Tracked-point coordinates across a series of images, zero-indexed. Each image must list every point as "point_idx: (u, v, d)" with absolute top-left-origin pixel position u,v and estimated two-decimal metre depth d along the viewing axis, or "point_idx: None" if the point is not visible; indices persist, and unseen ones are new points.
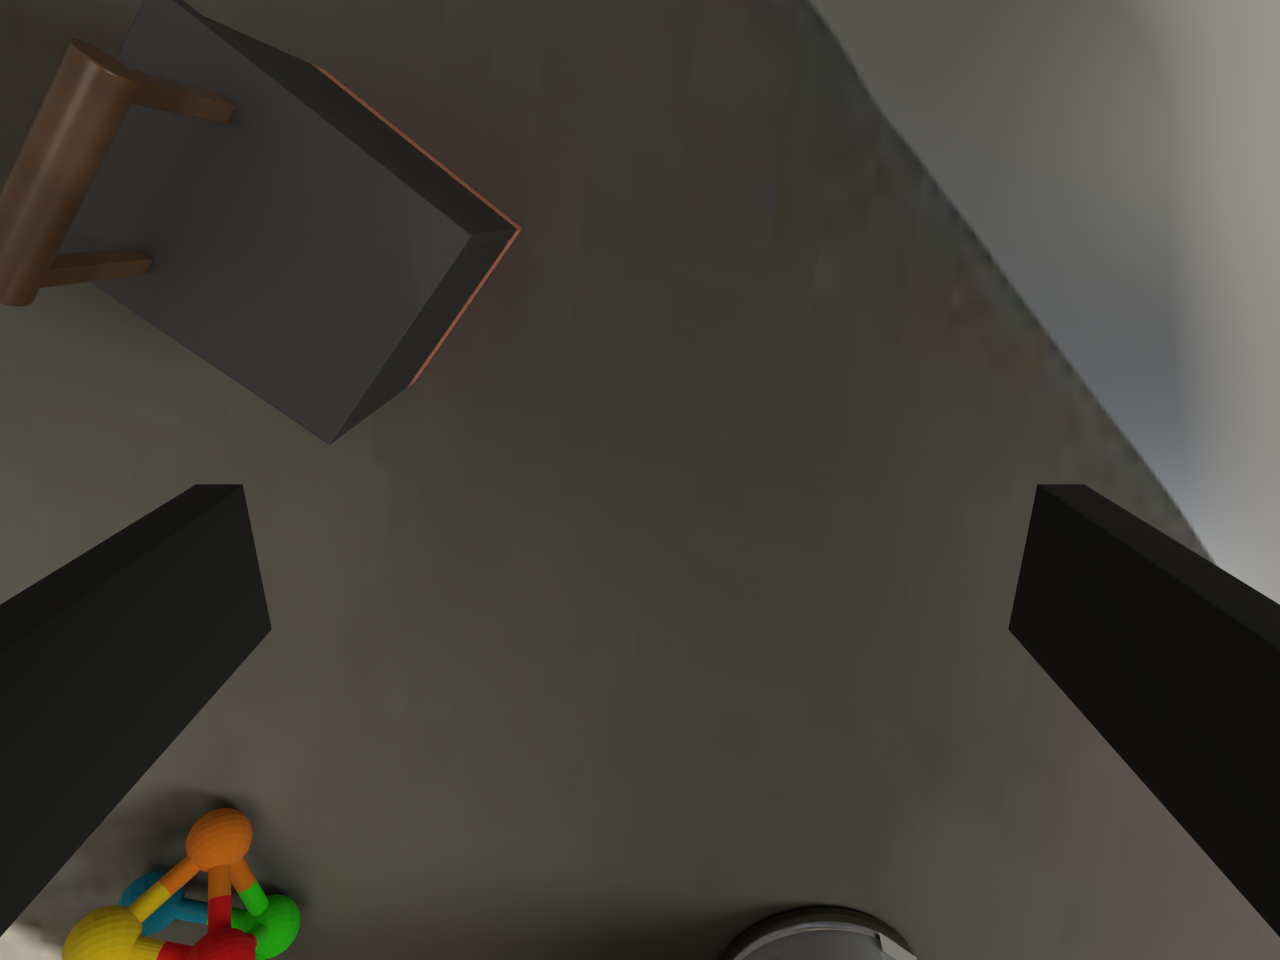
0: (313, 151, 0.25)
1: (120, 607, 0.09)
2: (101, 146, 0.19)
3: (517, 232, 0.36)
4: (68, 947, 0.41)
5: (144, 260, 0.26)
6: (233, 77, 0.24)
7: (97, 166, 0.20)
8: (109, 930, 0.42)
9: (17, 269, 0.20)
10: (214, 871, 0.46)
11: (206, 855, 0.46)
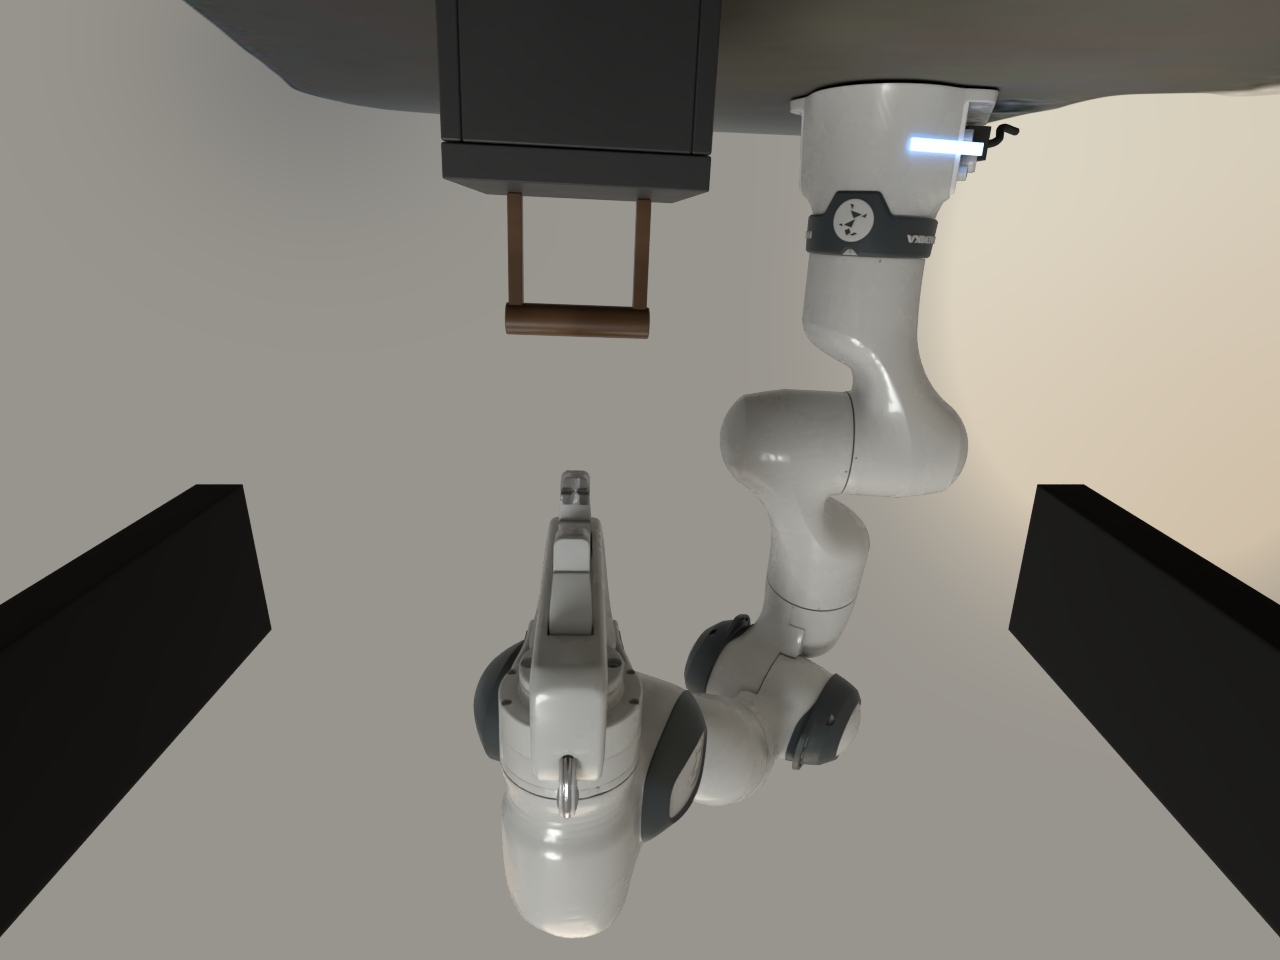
0: (492, 188, 0.33)
1: (120, 607, 0.09)
2: (543, 323, 0.37)
3: None
4: None
5: (637, 209, 0.36)
6: (493, 191, 0.36)
7: (556, 319, 0.37)
8: None
9: (625, 334, 0.38)
10: None
11: None
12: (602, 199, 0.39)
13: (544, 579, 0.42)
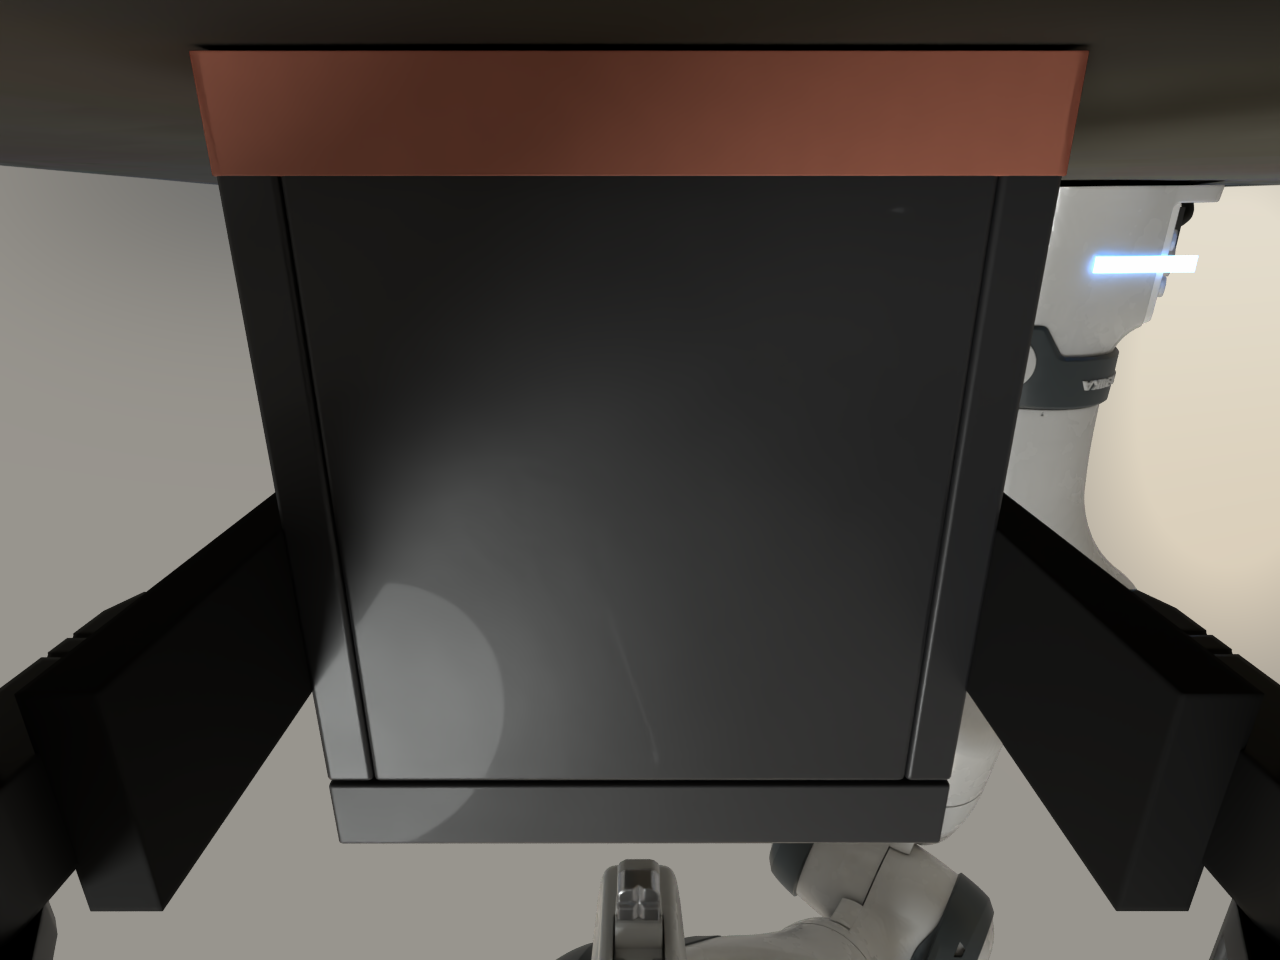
0: None
1: (276, 568, 0.10)
2: None
3: (219, 114, 0.08)
4: None
5: None
6: None
7: None
8: None
9: None
10: None
11: None
12: None
13: None
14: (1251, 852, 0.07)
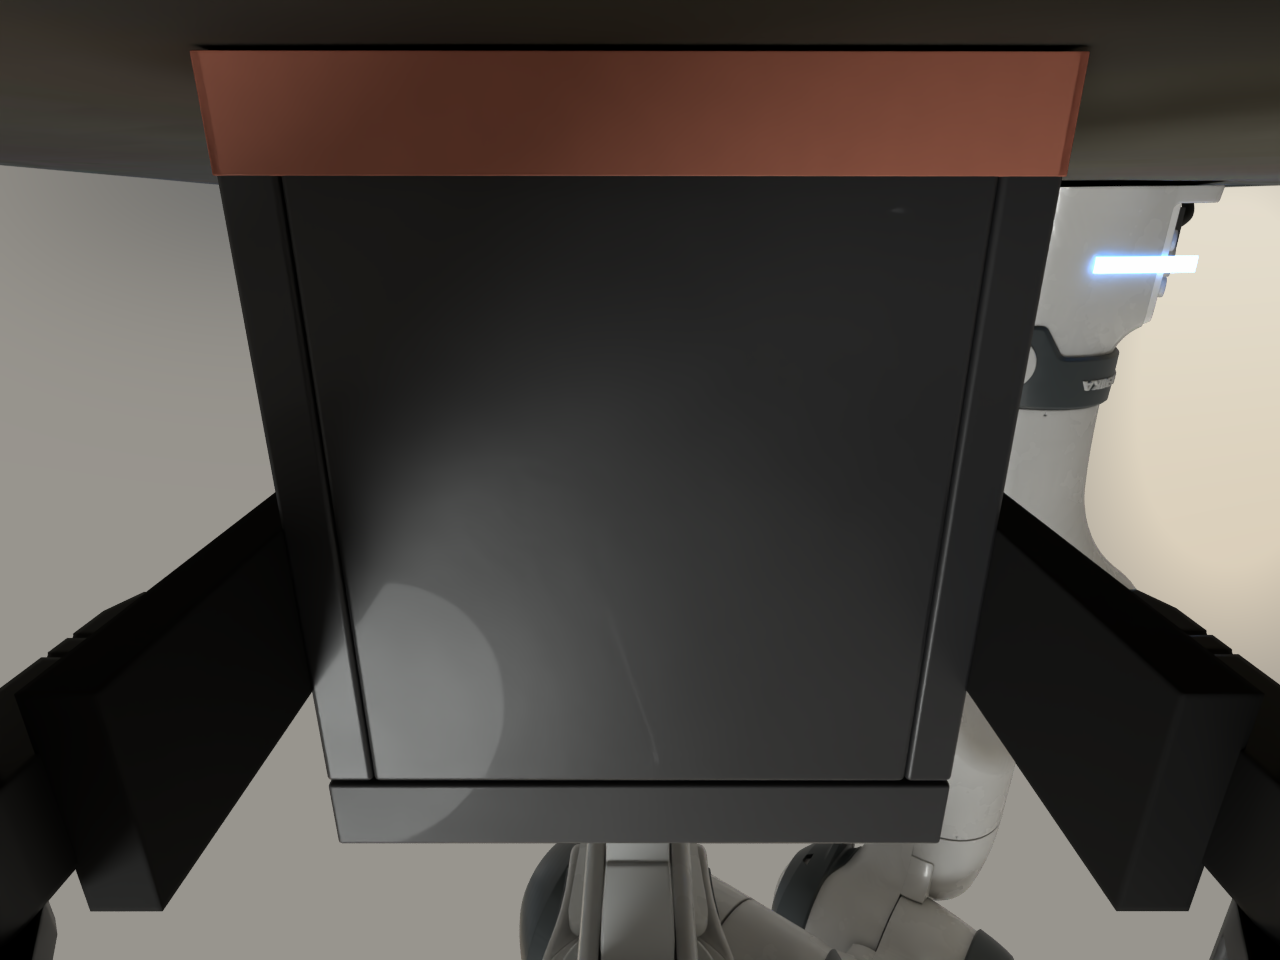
0: None
1: (276, 569, 0.10)
2: None
3: (220, 114, 0.08)
4: None
5: None
6: None
7: None
8: None
9: None
10: None
11: None
12: None
13: (588, 881, 0.24)
14: (1251, 852, 0.07)
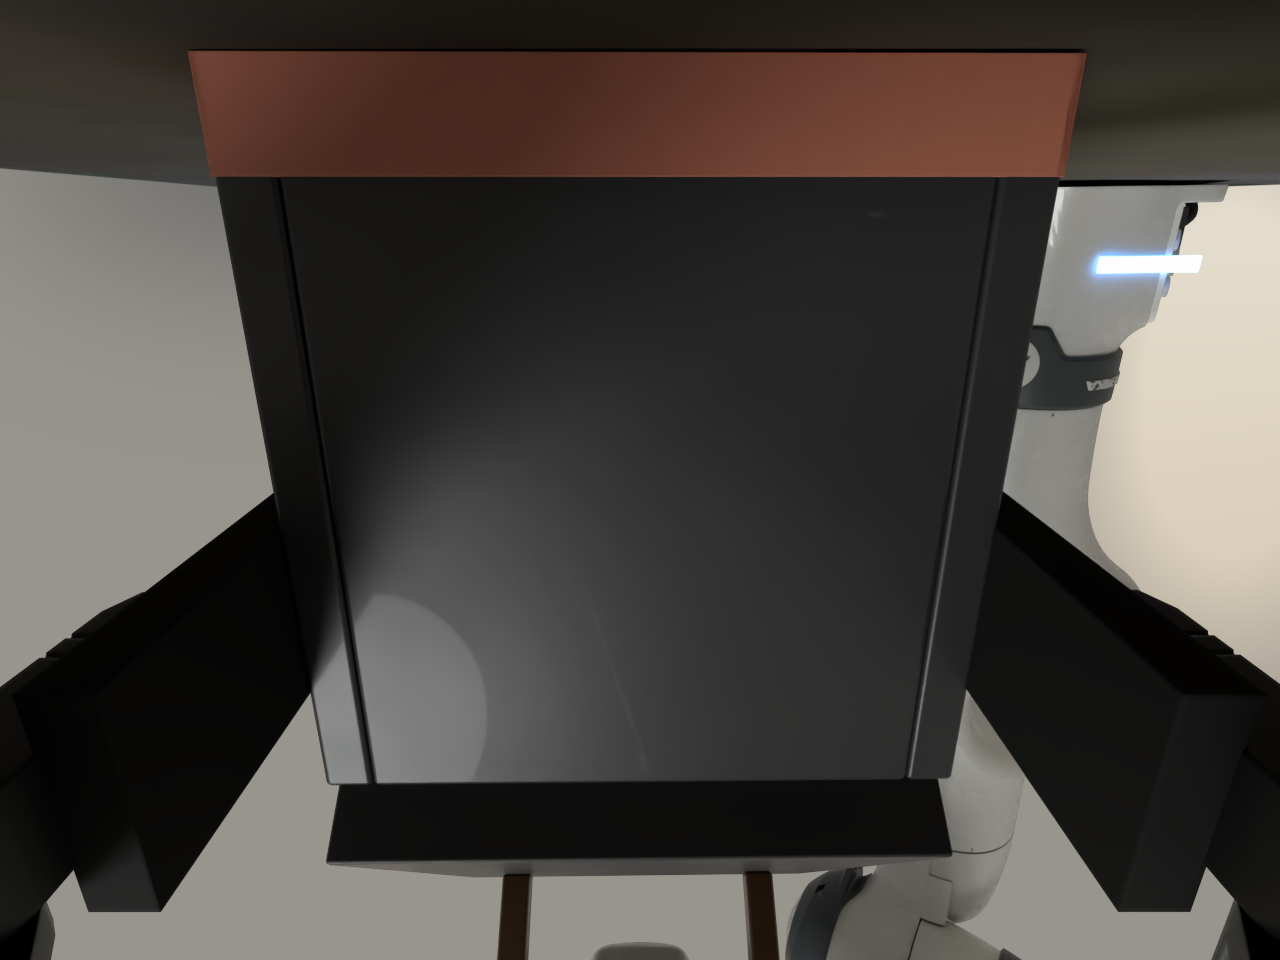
0: None
1: (275, 569, 0.10)
2: None
3: (219, 114, 0.08)
4: None
5: (748, 893, 0.19)
6: None
7: None
8: None
9: None
10: None
11: None
12: (675, 874, 0.22)
13: None
14: (1254, 853, 0.07)
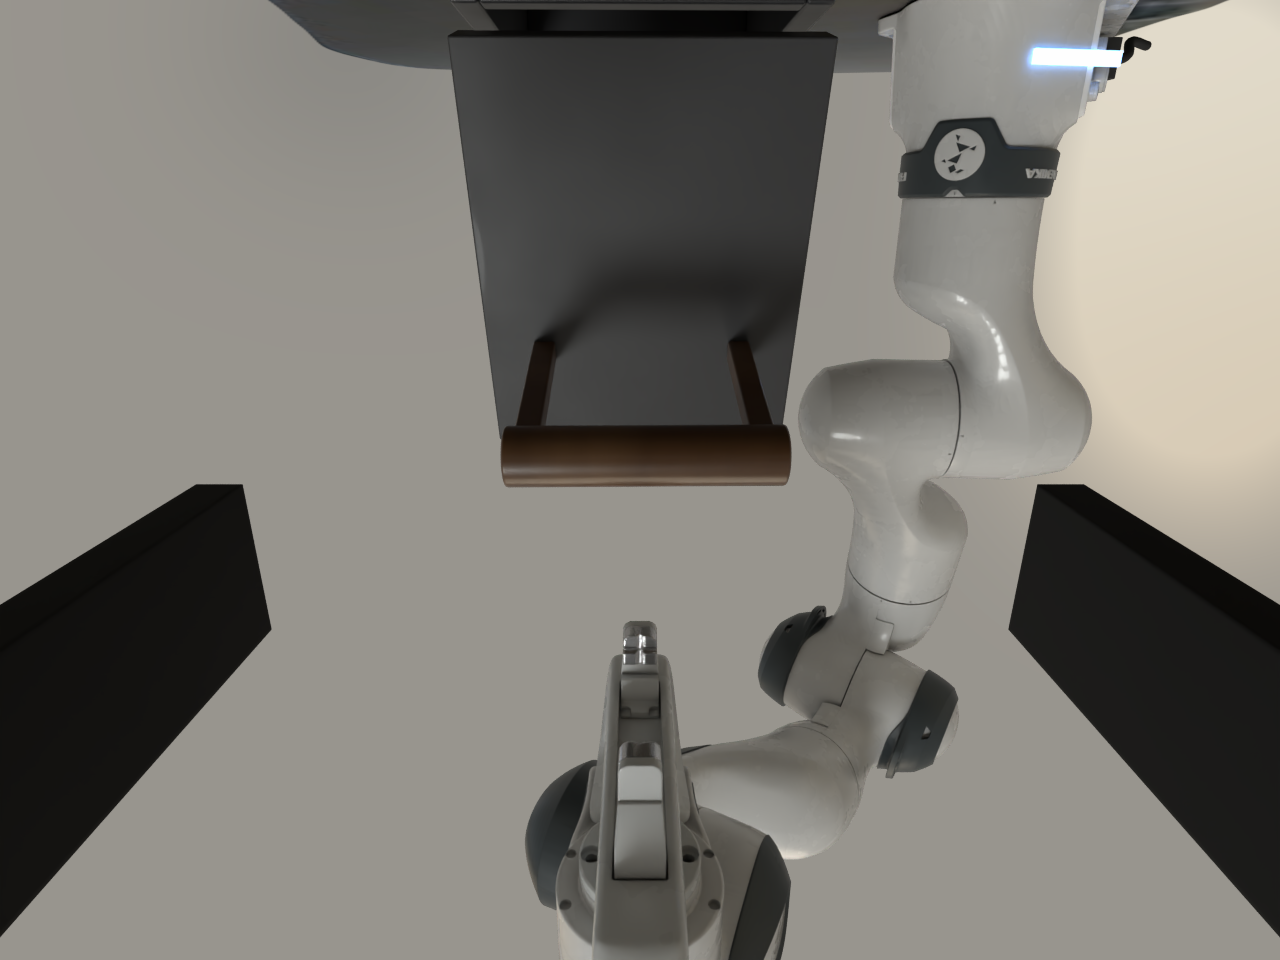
0: (513, 259, 0.22)
1: (120, 607, 0.09)
2: (579, 432, 0.18)
3: None
4: None
5: (730, 348, 0.23)
6: (512, 355, 0.24)
7: (603, 427, 0.19)
8: None
9: (745, 449, 0.18)
10: None
11: None
12: None
13: (606, 769, 0.35)
14: None
